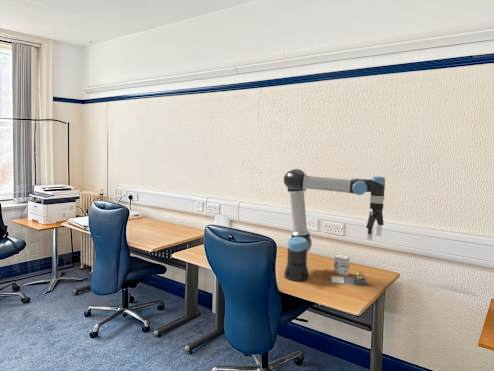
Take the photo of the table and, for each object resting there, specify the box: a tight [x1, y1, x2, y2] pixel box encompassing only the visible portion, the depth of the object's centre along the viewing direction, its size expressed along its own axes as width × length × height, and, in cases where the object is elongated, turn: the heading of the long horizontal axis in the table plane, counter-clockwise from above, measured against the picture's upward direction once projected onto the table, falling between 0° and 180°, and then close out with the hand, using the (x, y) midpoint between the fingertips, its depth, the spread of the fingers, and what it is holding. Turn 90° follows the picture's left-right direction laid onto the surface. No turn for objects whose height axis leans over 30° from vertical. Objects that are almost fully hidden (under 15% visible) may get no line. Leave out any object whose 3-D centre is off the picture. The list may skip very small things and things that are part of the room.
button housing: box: [353, 275, 366, 286], centre depth 219 cm, size 6×6×3 cm
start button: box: [355, 271, 365, 280], centre depth 219 cm, size 4×4×6 cm
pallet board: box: [330, 275, 366, 286], centre depth 223 cm, size 19×11×1 cm, turn 79°
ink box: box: [333, 254, 350, 276], centre depth 235 cm, size 9×5×12 cm, turn 62°
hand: (374, 237), depth 227 cm, fingers open, 13 cm apart
